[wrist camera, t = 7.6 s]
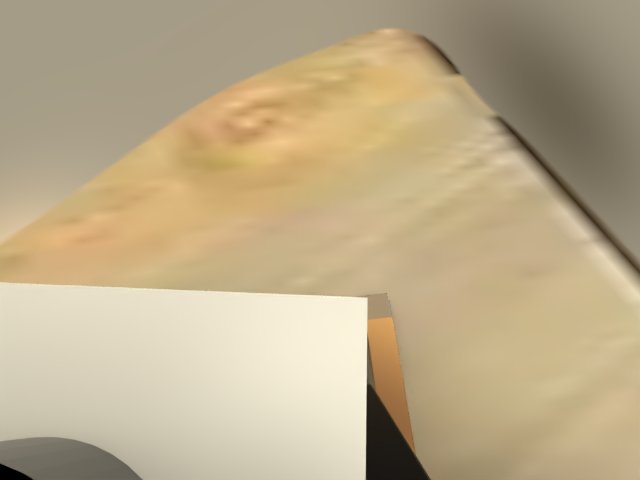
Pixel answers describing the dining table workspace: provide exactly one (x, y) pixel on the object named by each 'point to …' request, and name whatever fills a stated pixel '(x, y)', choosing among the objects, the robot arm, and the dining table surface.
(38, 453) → the bottle
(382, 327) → the rack
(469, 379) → the dining table surface
